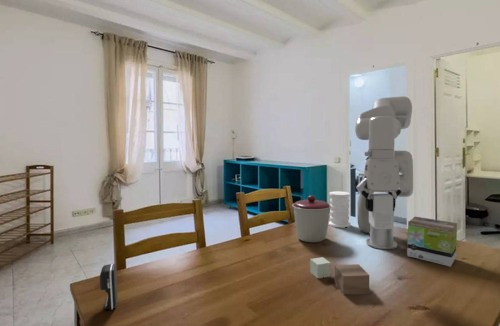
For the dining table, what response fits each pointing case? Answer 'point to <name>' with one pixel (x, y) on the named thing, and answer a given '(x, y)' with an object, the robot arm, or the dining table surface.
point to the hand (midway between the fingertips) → (380, 210)
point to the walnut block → (352, 279)
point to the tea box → (432, 240)
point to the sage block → (320, 267)
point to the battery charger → (109, 285)
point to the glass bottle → (363, 214)
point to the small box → (382, 211)
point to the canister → (311, 219)
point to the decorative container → (339, 209)
